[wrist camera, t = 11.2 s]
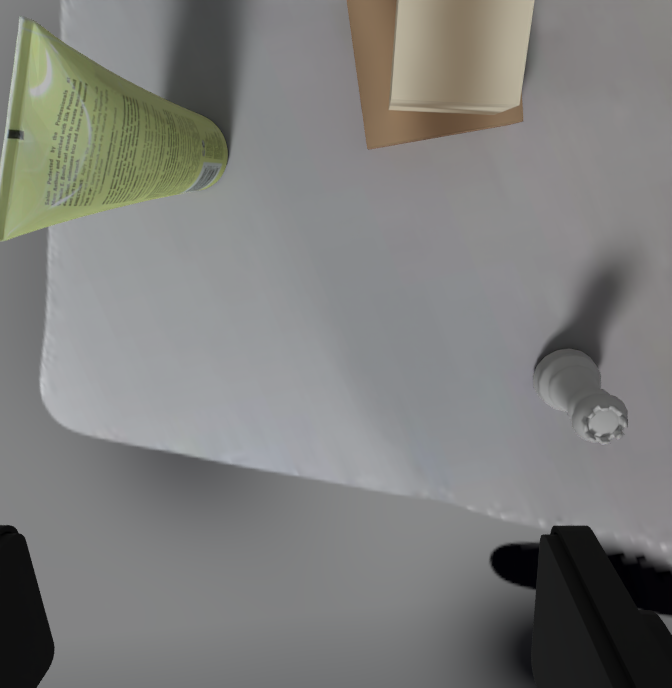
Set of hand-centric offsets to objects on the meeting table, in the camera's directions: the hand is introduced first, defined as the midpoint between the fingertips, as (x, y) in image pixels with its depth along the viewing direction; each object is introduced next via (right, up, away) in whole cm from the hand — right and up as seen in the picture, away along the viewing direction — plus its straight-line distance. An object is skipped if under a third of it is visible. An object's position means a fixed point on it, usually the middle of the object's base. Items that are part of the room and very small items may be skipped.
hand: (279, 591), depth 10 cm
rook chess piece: (+17, +2, +30) cm, 35 cm away
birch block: (+7, +21, +21) cm, 30 cm away
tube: (-8, +17, +27) cm, 33 cm away
